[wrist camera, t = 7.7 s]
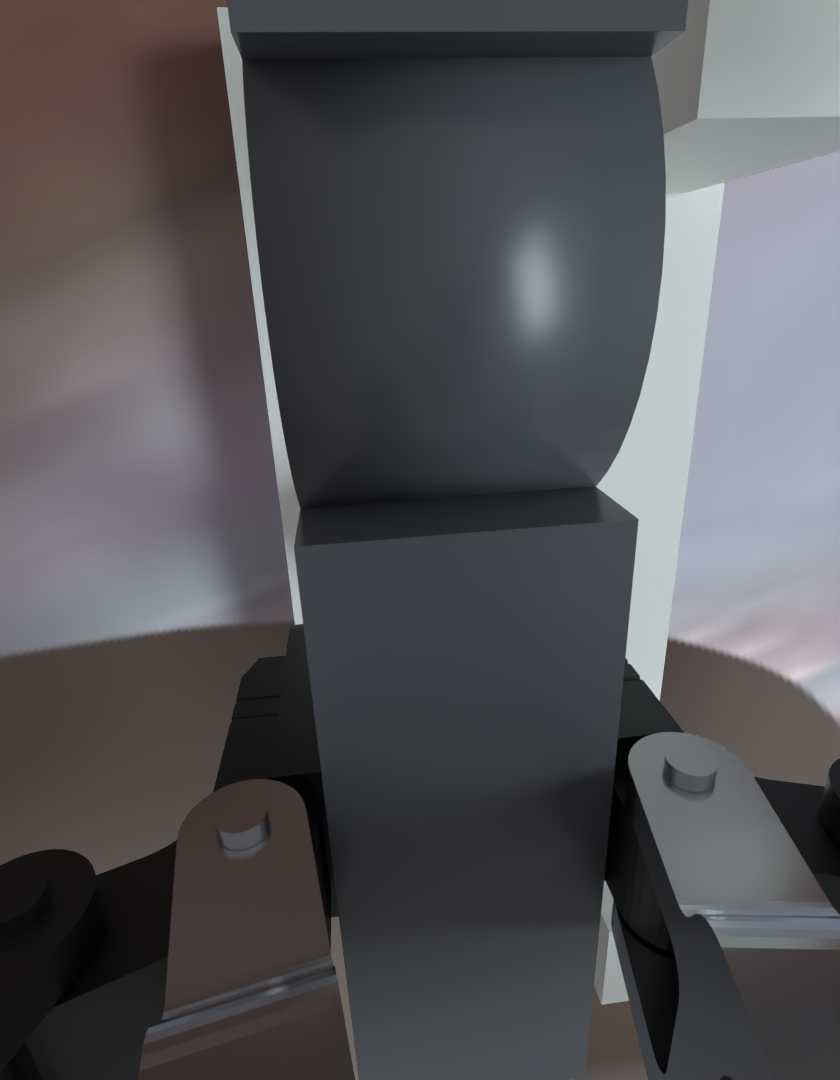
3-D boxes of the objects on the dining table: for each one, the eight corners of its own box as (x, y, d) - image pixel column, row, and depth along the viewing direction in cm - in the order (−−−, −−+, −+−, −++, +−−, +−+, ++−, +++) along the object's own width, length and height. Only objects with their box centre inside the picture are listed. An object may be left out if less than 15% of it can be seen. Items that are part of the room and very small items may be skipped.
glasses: (269, -24, 8) (168, -479, 3) (1064, -21, 9) (1850, -354, 4) (372, 999, 15) (388, 1315, 10) (806, 933, 16) (996, 1194, 11)
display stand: (231, 41, 15) (77, -313, 6) (700, 39, 16) (1140, -262, 7) (321, 783, 24) (311, 1083, 15) (626, 748, 25) (787, 1007, 16)
